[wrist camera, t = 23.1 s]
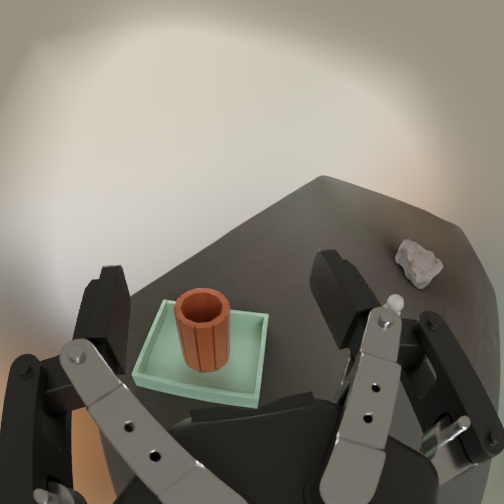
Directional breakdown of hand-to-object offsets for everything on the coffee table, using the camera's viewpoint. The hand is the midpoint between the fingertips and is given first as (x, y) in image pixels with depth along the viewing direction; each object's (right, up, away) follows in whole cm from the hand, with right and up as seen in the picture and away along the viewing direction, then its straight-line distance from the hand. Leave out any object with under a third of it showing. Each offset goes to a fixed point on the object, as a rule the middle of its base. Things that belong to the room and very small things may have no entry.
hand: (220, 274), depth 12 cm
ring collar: (-5, -12, +26) cm, 29 cm away
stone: (+33, -4, +42) cm, 54 cm away
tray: (-5, -13, +26) cm, 29 cm away
